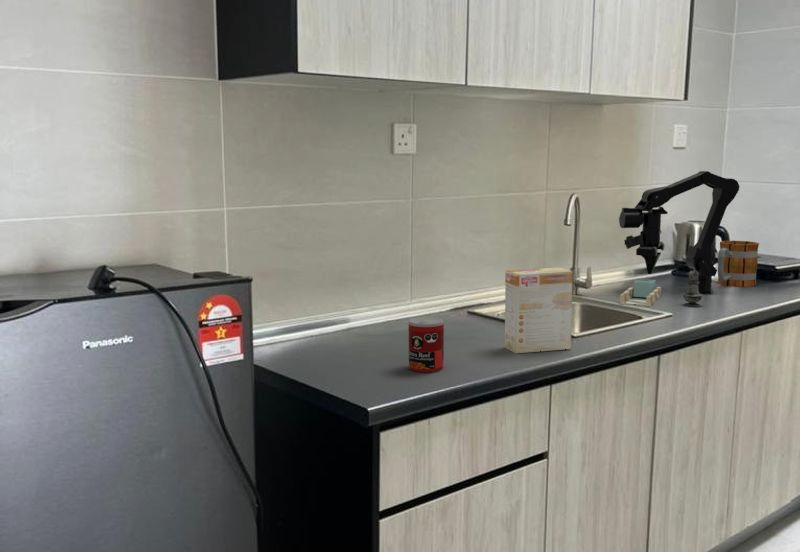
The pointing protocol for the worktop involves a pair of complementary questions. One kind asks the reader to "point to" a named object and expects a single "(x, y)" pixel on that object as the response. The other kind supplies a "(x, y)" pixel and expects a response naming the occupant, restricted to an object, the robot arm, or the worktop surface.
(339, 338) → the worktop surface
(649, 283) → the block
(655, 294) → the chute
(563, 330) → the coffeecake box
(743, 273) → the mug
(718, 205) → the robot arm
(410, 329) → the canned food
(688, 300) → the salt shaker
